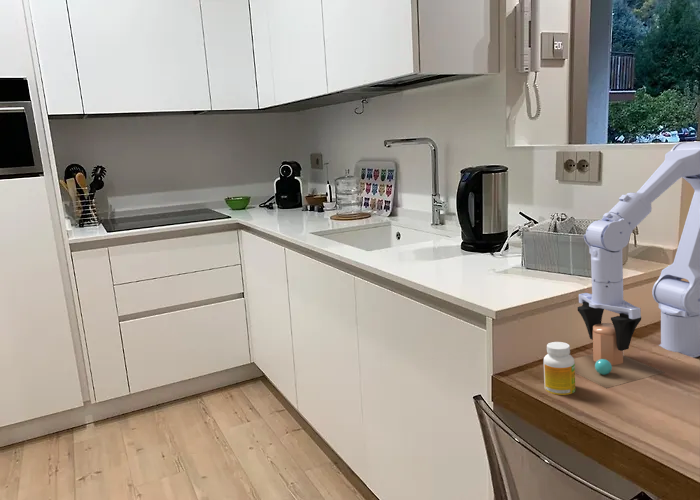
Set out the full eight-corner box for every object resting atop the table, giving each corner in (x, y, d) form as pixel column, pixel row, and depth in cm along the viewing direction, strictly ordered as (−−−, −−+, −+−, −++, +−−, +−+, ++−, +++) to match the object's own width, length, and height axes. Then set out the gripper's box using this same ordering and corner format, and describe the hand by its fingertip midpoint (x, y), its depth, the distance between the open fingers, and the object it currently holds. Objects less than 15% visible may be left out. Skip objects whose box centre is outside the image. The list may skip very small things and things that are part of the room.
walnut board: (609, 355, 116) (609, 349, 115) (665, 378, 102) (665, 372, 102) (555, 368, 112) (555, 363, 111) (606, 394, 98) (606, 388, 98)
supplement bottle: (578, 401, 97) (576, 350, 95) (547, 401, 98) (545, 350, 97) (572, 388, 102) (570, 339, 101) (542, 388, 103) (540, 340, 102)
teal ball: (603, 369, 106) (603, 355, 105) (615, 375, 103) (615, 360, 103) (591, 373, 105) (591, 358, 105) (603, 378, 102) (602, 363, 102)
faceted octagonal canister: (609, 352, 114) (608, 321, 113) (629, 361, 109) (629, 328, 107) (587, 358, 112) (586, 326, 111) (607, 366, 107) (606, 333, 106)
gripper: (566, 276, 113) (568, 337, 116) (619, 290, 100) (620, 359, 102) (593, 271, 115) (594, 331, 118) (649, 283, 102) (649, 351, 104)
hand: (608, 343), depth 110 cm, fingers open, 7 cm apart
